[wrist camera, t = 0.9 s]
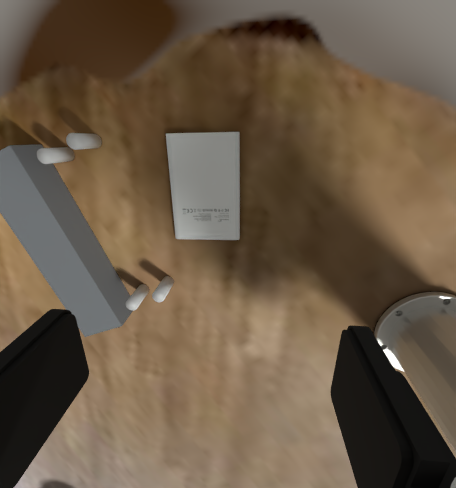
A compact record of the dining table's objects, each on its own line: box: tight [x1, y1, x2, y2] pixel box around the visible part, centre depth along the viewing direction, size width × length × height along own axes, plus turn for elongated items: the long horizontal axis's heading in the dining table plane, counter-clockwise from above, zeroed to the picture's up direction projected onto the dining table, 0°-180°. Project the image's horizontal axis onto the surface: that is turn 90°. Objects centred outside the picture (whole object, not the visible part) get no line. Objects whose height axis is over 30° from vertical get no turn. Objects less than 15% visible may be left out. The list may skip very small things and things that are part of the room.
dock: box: [0, 133, 174, 337], centre depth 34 cm, size 13×24×4 cm, turn 22°
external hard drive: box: [166, 132, 240, 240], centre depth 32 cm, size 2×8×12 cm
